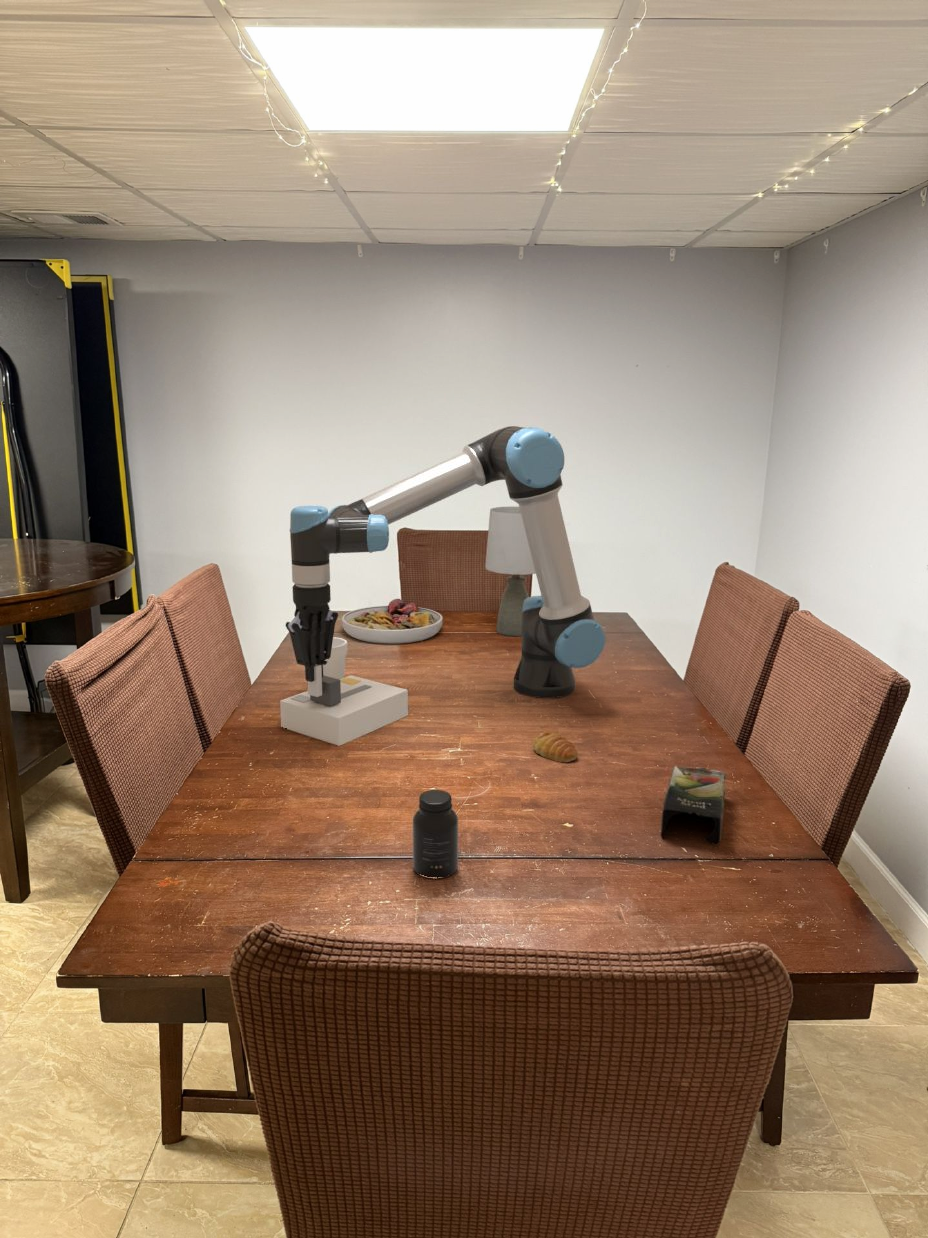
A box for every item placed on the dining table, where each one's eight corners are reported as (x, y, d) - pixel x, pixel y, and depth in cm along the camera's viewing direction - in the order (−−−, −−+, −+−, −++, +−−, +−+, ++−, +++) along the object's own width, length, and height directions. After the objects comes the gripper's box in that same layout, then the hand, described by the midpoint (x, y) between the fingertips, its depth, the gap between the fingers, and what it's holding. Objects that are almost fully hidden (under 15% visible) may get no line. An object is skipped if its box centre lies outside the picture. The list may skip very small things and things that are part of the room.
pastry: (585, 759, 174) (586, 741, 173) (561, 768, 170) (562, 749, 169) (552, 744, 181) (553, 727, 180) (528, 752, 177) (528, 734, 176)
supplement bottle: (412, 858, 136) (412, 786, 133) (456, 856, 136) (457, 785, 133) (413, 881, 129) (413, 807, 126) (459, 880, 130) (460, 806, 127)
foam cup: (340, 703, 203) (339, 649, 199) (302, 700, 204) (300, 646, 201) (353, 690, 212) (352, 638, 208) (316, 687, 213) (315, 635, 210)
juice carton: (668, 789, 161) (671, 758, 160) (724, 797, 159) (727, 766, 157) (657, 841, 143) (660, 807, 141) (720, 852, 140) (724, 817, 138)
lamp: (487, 622, 276) (490, 505, 267) (546, 625, 274) (551, 506, 264) (480, 638, 258) (482, 513, 249) (543, 641, 256) (548, 515, 246)
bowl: (440, 648, 249) (441, 621, 247) (335, 646, 249) (334, 619, 247) (443, 621, 278) (444, 597, 276) (349, 620, 278) (348, 595, 276)
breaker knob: (340, 702, 185) (340, 679, 184) (330, 706, 183) (330, 683, 181) (320, 696, 188) (319, 674, 187) (310, 700, 186) (309, 677, 185)
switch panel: (407, 715, 196) (407, 689, 194) (339, 746, 178) (338, 717, 177) (351, 699, 205) (350, 674, 204) (281, 727, 188) (280, 699, 186)
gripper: (320, 576, 184) (324, 683, 190) (274, 586, 173) (279, 699, 179) (347, 580, 179) (349, 690, 185) (300, 591, 169) (305, 707, 175)
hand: (315, 694), depth 182 cm, fingers closed
